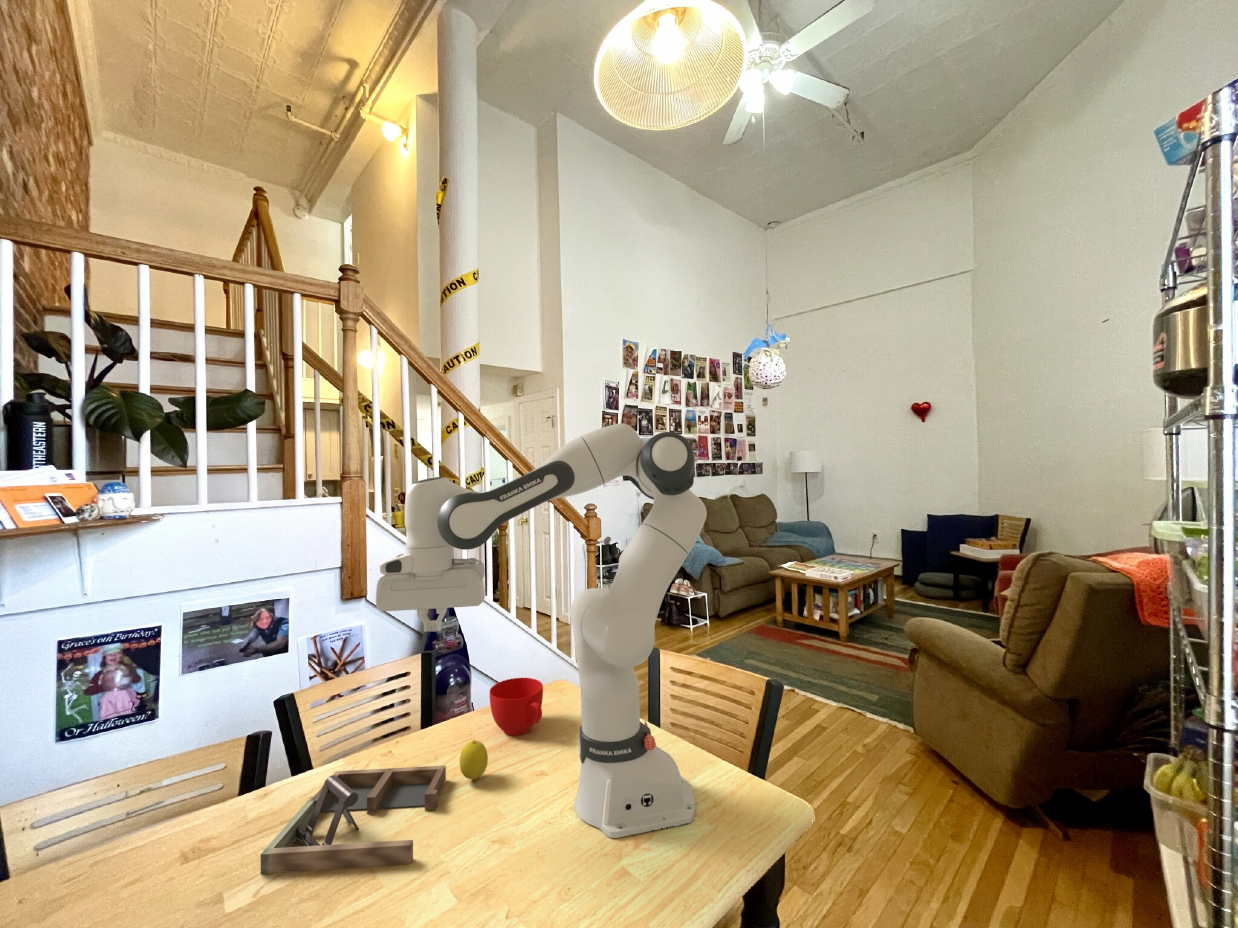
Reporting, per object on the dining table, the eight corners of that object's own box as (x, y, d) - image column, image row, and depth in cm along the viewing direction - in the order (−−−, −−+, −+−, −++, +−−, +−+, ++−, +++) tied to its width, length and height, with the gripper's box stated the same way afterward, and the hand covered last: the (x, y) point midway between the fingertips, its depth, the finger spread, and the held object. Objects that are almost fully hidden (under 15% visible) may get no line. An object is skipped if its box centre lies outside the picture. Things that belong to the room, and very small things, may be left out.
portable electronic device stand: (295, 839, 87) (294, 790, 88) (342, 815, 94) (342, 769, 94) (316, 863, 82) (315, 810, 82) (365, 835, 88) (364, 786, 88)
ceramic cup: (516, 755, 112) (515, 710, 113) (480, 728, 125) (479, 687, 125) (563, 734, 121) (562, 692, 121) (525, 711, 134) (525, 673, 134)
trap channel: (449, 779, 104) (449, 765, 104) (410, 863, 81) (410, 844, 81) (333, 786, 102) (333, 771, 102) (260, 873, 80) (260, 854, 80)
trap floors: (438, 783, 102) (438, 782, 102) (426, 806, 95) (426, 804, 95) (339, 789, 101) (339, 787, 101) (320, 812, 94) (320, 810, 94)
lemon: (480, 789, 100) (479, 748, 101) (454, 786, 101) (454, 746, 102) (492, 773, 106) (492, 734, 106) (468, 770, 107) (467, 732, 107)
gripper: (487, 554, 103) (489, 622, 103) (384, 560, 102) (386, 628, 102) (480, 559, 97) (483, 632, 97) (370, 565, 96) (373, 639, 95)
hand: (432, 630), depth 99 cm, fingers closed
